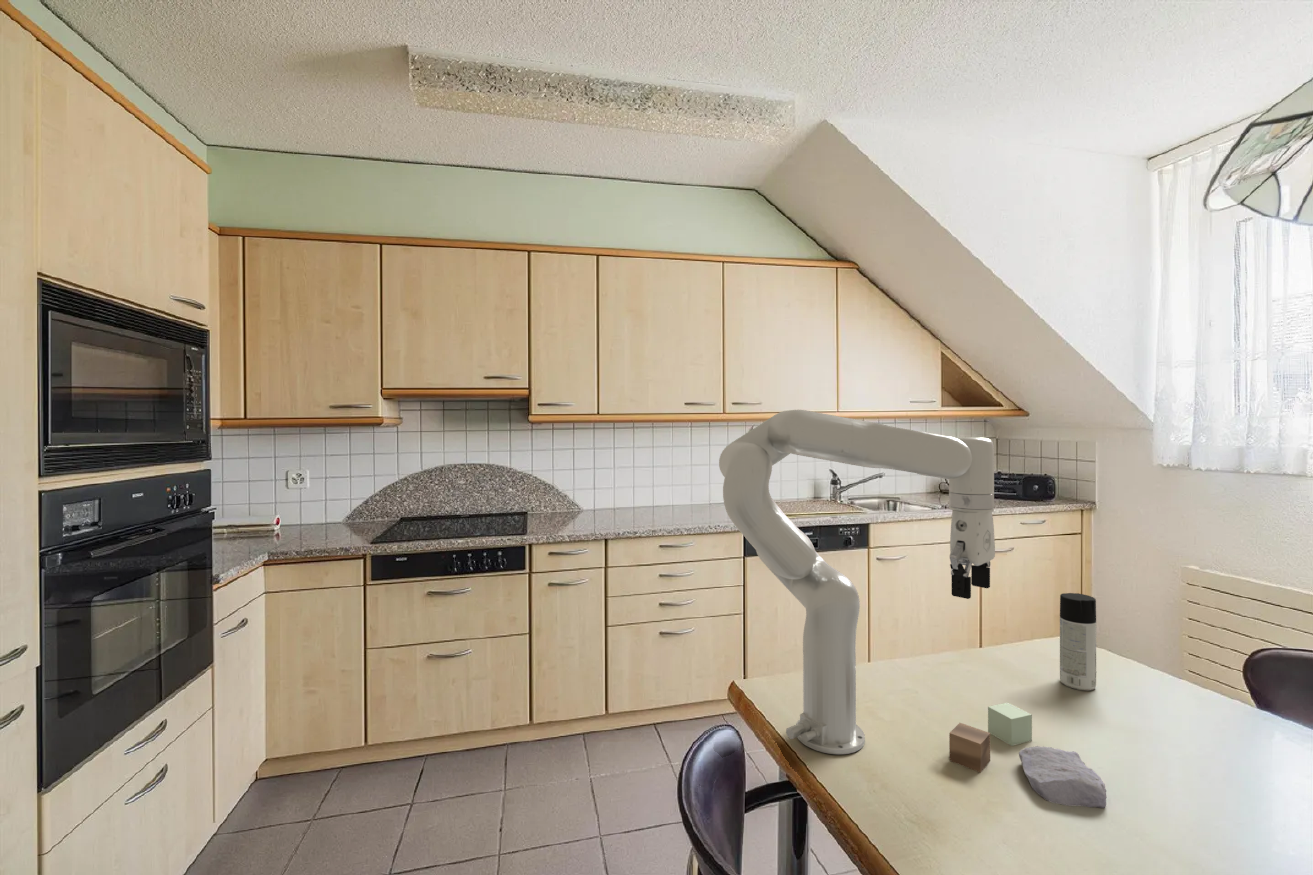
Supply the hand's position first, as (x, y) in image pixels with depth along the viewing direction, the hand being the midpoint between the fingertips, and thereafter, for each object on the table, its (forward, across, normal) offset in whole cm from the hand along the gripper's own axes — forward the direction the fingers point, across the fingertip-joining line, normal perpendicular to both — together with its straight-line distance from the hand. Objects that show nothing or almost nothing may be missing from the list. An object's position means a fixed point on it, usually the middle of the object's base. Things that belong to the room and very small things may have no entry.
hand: (971, 591), depth 110 cm
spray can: (+27, +38, -9) cm, 48 cm away
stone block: (+27, -7, -15) cm, 32 cm away
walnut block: (+27, -10, -3) cm, 29 cm away
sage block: (+27, +4, -6) cm, 28 cm away
